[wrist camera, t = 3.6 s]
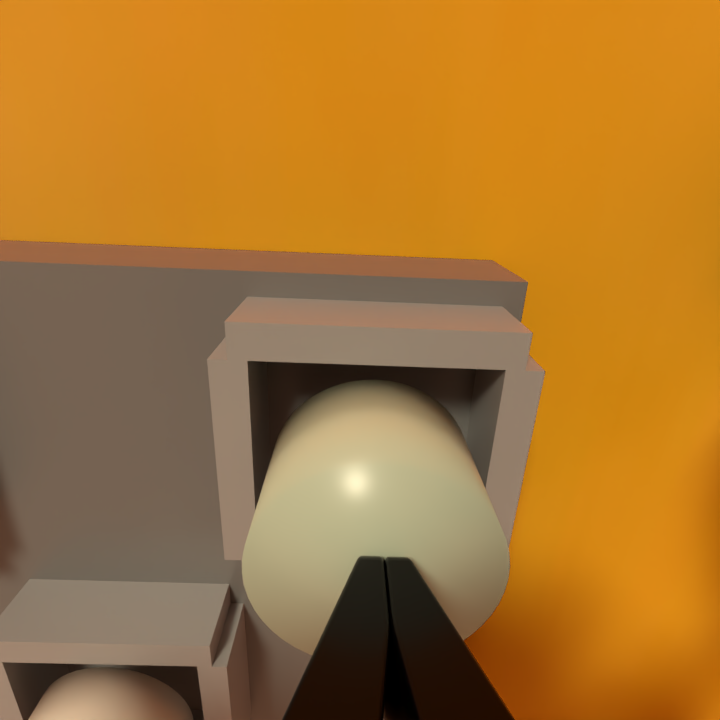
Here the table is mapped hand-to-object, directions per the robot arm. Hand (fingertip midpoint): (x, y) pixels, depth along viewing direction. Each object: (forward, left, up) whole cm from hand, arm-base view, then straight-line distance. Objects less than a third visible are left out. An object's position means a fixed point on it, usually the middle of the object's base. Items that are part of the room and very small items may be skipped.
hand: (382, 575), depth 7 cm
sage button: (0, 0, -3) cm, 3 cm away
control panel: (+7, +5, -8) cm, 12 cm away
